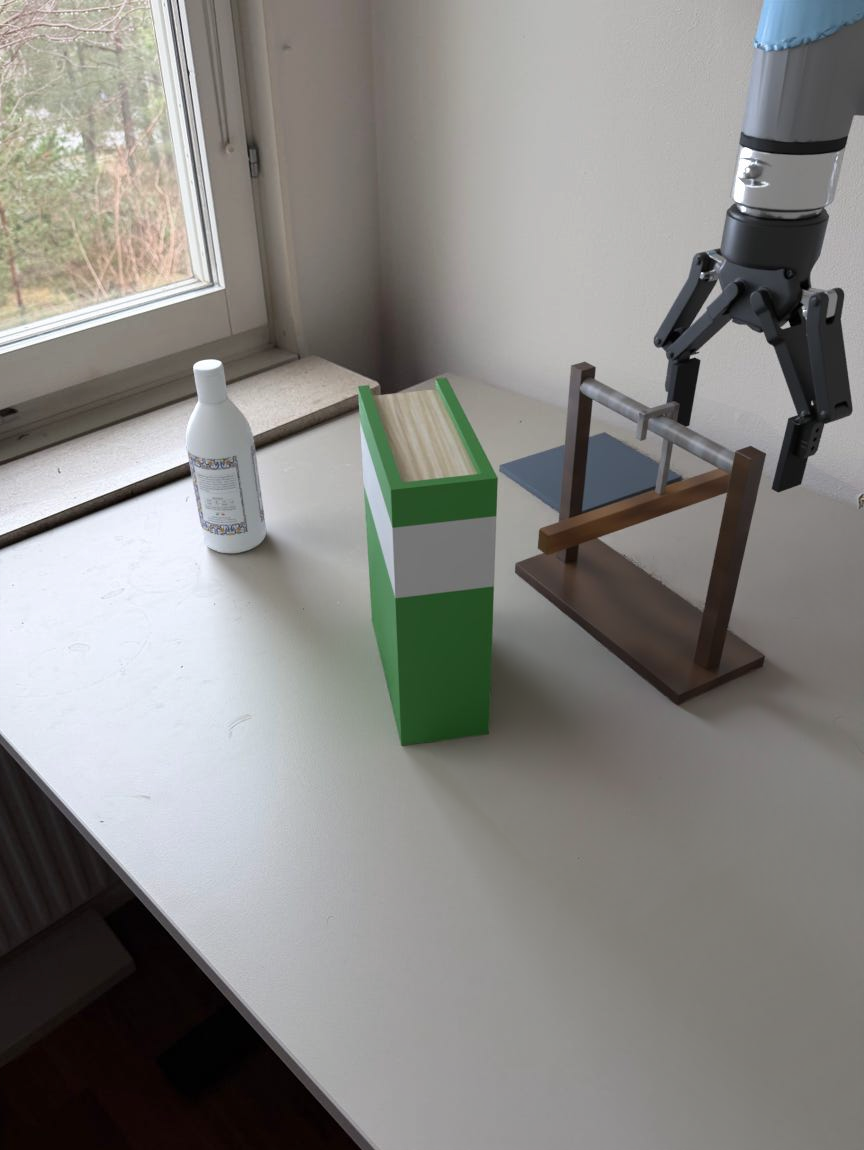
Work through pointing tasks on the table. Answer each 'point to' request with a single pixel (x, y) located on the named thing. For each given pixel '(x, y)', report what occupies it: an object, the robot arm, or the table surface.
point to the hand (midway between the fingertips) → (727, 456)
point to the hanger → (637, 497)
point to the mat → (589, 473)
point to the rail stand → (629, 594)
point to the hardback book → (430, 559)
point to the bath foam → (223, 466)
